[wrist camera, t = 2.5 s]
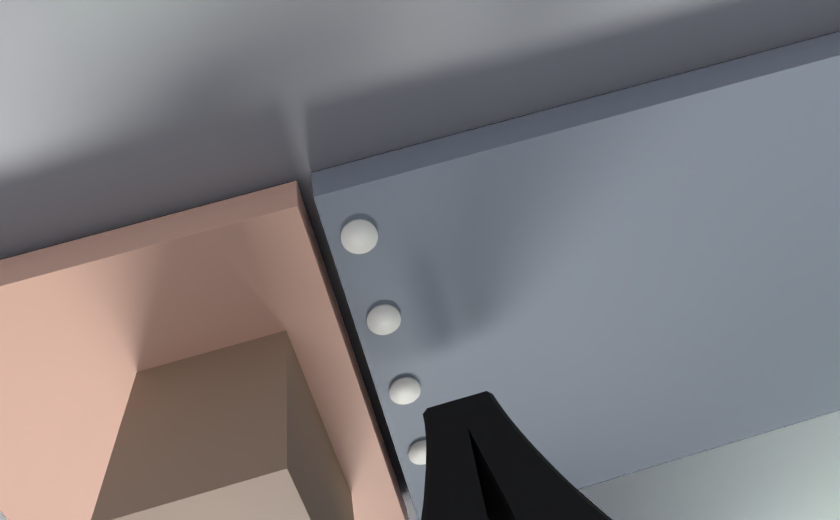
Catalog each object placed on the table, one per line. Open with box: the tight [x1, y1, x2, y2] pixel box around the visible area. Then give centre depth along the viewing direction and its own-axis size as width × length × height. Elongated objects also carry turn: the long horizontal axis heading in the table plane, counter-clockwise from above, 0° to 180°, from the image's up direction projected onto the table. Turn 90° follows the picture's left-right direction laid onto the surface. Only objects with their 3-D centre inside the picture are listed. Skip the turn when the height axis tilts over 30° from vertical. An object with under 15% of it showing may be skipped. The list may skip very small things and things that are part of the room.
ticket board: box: [311, 31, 840, 520], centre depth 15 cm, size 10×14×1 cm
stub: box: [0, 181, 409, 520], centre depth 13 cm, size 10×8×5 cm
